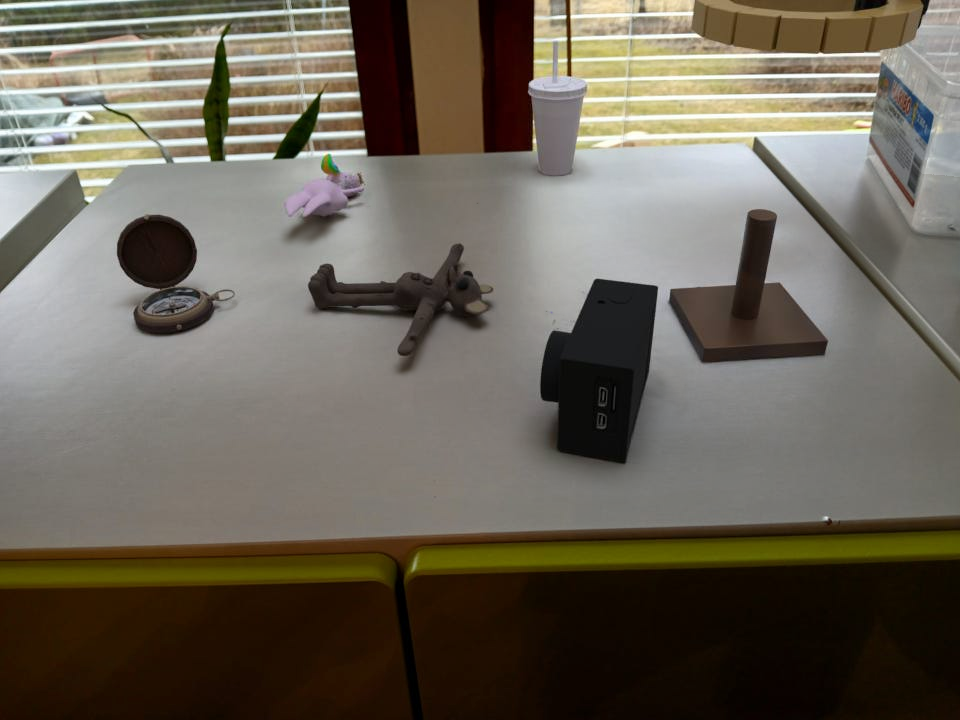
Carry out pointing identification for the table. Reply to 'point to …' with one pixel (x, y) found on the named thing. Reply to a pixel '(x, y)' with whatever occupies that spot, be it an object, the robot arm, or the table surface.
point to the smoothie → (556, 118)
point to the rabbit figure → (325, 192)
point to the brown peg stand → (747, 308)
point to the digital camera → (601, 369)
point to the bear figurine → (406, 294)
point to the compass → (163, 273)
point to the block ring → (807, 25)
